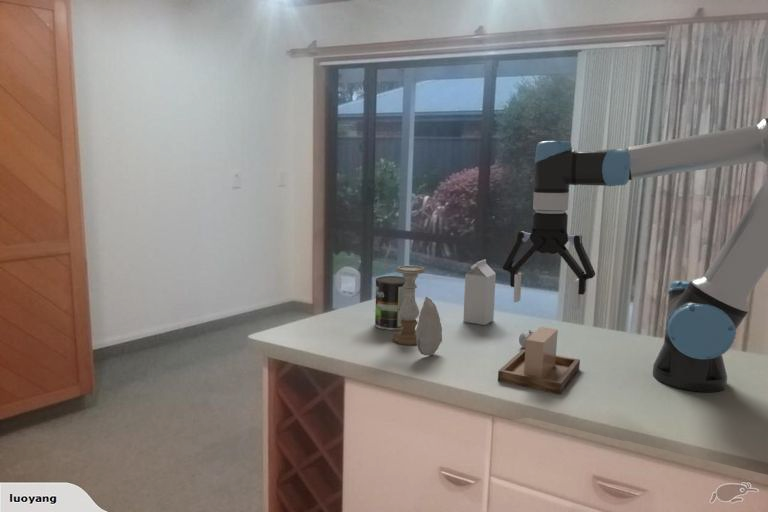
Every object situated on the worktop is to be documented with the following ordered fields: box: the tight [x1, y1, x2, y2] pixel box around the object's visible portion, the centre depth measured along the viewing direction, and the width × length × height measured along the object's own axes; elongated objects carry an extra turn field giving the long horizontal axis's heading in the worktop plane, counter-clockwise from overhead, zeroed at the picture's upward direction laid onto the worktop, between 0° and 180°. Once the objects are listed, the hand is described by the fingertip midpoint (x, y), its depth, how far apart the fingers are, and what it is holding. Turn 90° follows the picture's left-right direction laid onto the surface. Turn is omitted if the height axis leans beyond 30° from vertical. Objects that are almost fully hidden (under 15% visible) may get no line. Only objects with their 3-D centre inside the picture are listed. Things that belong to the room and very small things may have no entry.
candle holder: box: [392, 265, 425, 346], centre depth 157 cm, size 9×9×20 cm
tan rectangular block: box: [524, 326, 559, 378], centre depth 134 cm, size 4×12×9 cm, turn 149°
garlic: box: [518, 329, 535, 349], centre depth 154 cm, size 6×5×5 cm
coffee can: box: [374, 275, 405, 331], centre depth 172 cm, size 10×10×14 cm
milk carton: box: [463, 259, 497, 326], centre depth 178 cm, size 7×7×19 cm
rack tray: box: [497, 348, 581, 395], centre depth 135 cm, size 14×18×2 cm
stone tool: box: [415, 296, 443, 356], centre depth 146 cm, size 9×3×15 cm, turn 140°
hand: (546, 304), depth 132 cm, fingers open, 13 cm apart
